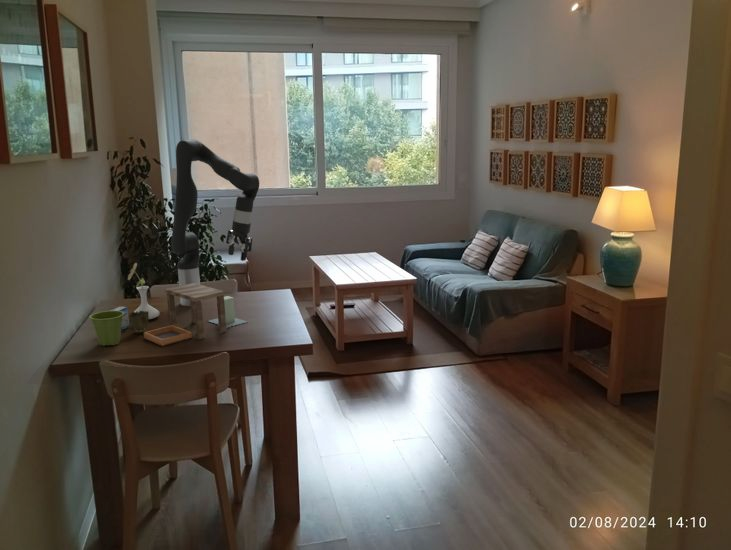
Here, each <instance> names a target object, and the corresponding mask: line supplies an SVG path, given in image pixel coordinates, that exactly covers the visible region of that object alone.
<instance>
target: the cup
mask: <svg viewBox="0 0 731 550" xmlns="http://www.w3.org/2000/svg"><path fill="white" fill-rule="evenodd" d="M148 314H149V312H148V311H147V312H146V311H145V312H144V311H140V312H139V313H138V312H136V313H135V312H134V311H131V312H129V314H128V318H129V324H130V326H131V327H132V329H133V330H135V333H136V332H137V334H143V333H144V332H146V328H147V327H148V325H149V320H148ZM142 332H143V333H142Z"/></svg>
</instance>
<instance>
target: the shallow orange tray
mask: <svg viewBox="0 0 731 550" xmlns="http://www.w3.org/2000/svg"><path fill="white" fill-rule="evenodd" d="M192 336H193V335H192V332H191V331H189V330H187V329H184V328H181V327H178V326H177V327H176V326H173V325H171V326H170V325H167V326H164V327H160V328H156V329H152V330H148V331H145V332H143V339H144V338H145V339H144V340H146V339H147V341H149V340H150V341H149V342H151V341H152V342H151V343H153V342H154V344H157V345H158V346H161V347H165V346H170V345H173V344H177V343H180V342H184V341H187V340H191V339H192V338H193V337H192ZM190 338H191V339H190ZM186 339H187V340H186ZM183 340H184V341H183ZM179 341H180V342H179ZM176 342H177V343H176Z"/></svg>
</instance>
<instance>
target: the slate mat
mask: <svg viewBox="0 0 731 550" xmlns="http://www.w3.org/2000/svg"><path fill="white" fill-rule="evenodd" d="M210 322H211V323H210ZM246 322H248V321H247V320H244V319H241V318H237V317H235V321H233V322H230V323H226V327H227V328H226V329H229V328H228V327H230V328H232V327H231V326H233V327H236V326H235V325H237V326H239V325H238V324H241V325H243V324H242V323H244V324H247V323H246ZM207 323H210V324H213V323H214V324H213V325H216V324H217V326H219V322H218V317H217V318H214V319H209V320H207Z"/></svg>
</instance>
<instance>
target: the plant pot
mask: <svg viewBox="0 0 731 550" xmlns="http://www.w3.org/2000/svg"><path fill="white" fill-rule="evenodd" d="M123 315H124V312H122V311H110V310H104V311H99V312H96V313H95V312H94V313H93V314H91V315H89V319H91V322H92V325H93V326H94V327H93V328H94V330H95V333H96V336H97V340H98V344H99V345H100V344H102V345H107V346H109V345H113V344H116V343H118V344H120V343H121V336H122V335H121V334H122V331H121V323H122V317H123ZM116 345H117V344H116ZM113 346H114V345H113Z"/></svg>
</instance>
